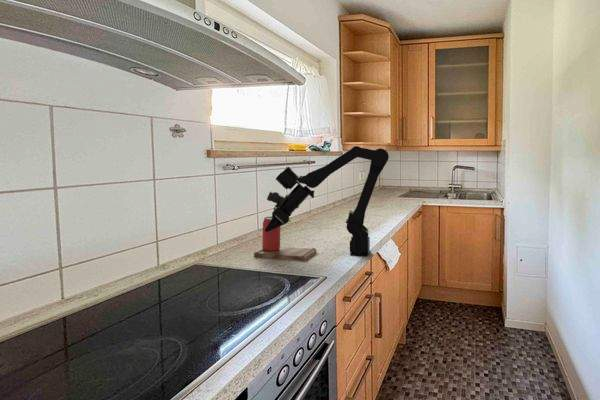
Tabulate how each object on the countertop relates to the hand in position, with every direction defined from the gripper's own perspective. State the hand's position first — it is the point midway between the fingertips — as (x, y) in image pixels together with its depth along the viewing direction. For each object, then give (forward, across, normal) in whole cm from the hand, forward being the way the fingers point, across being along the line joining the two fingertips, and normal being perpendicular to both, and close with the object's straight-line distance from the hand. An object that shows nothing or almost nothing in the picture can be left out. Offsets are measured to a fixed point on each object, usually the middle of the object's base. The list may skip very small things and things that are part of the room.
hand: (266, 228), depth 156 cm
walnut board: (+2, +2, +12) cm, 12 cm away
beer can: (+5, 0, +7) cm, 8 cm away
